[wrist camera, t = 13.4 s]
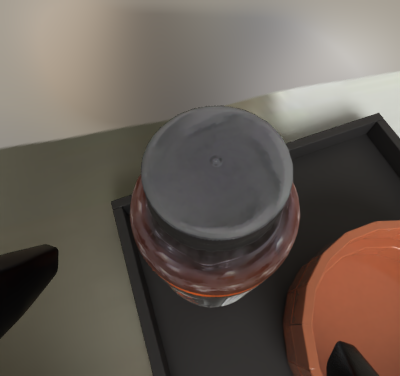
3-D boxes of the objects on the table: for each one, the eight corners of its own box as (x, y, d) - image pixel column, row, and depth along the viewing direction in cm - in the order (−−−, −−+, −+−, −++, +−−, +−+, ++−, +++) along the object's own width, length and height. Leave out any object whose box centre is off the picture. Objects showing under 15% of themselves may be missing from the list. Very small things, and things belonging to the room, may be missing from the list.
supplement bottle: (142, 256, 18) (52, 159, 8) (210, 193, 19) (212, 46, 9) (211, 333, 16) (217, 347, 6) (280, 257, 17) (382, 158, 7)
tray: (607, 438, 14) (658, 452, 12) (228, 648, 11) (231, 700, 10) (367, 127, 22) (379, 112, 20) (118, 211, 19) (110, 201, 18)
